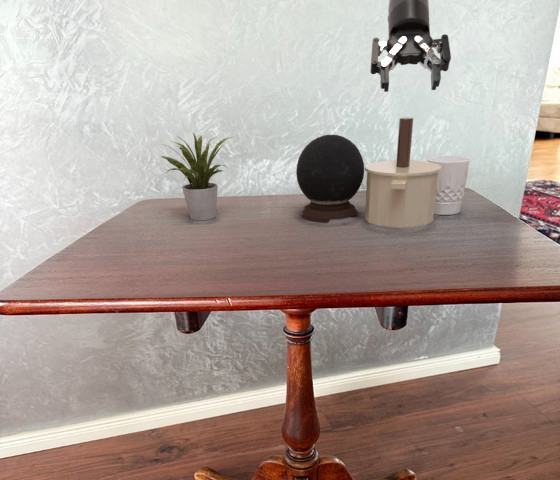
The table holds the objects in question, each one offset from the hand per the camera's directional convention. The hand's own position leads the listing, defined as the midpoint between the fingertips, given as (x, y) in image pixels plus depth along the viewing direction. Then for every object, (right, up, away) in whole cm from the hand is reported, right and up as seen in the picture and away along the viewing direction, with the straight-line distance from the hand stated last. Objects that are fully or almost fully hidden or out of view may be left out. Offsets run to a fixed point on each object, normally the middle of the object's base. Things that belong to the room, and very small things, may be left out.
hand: (410, 87), depth 98 cm
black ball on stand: (-14, -20, +11) cm, 27 cm away
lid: (-1, -15, +1) cm, 15 cm away
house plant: (-39, -19, +14) cm, 46 cm away
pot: (-1, -23, +5) cm, 23 cm away
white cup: (+9, -19, +11) cm, 24 cm away
